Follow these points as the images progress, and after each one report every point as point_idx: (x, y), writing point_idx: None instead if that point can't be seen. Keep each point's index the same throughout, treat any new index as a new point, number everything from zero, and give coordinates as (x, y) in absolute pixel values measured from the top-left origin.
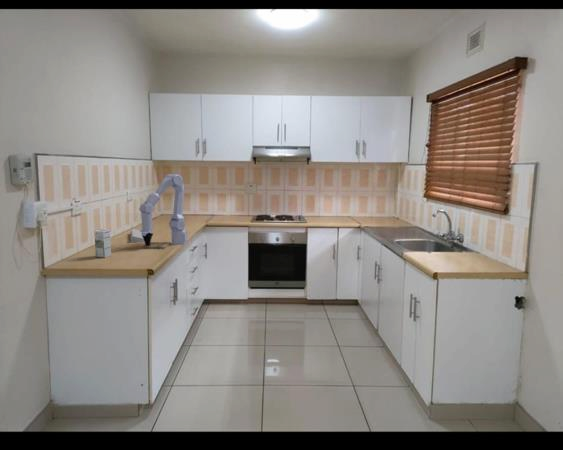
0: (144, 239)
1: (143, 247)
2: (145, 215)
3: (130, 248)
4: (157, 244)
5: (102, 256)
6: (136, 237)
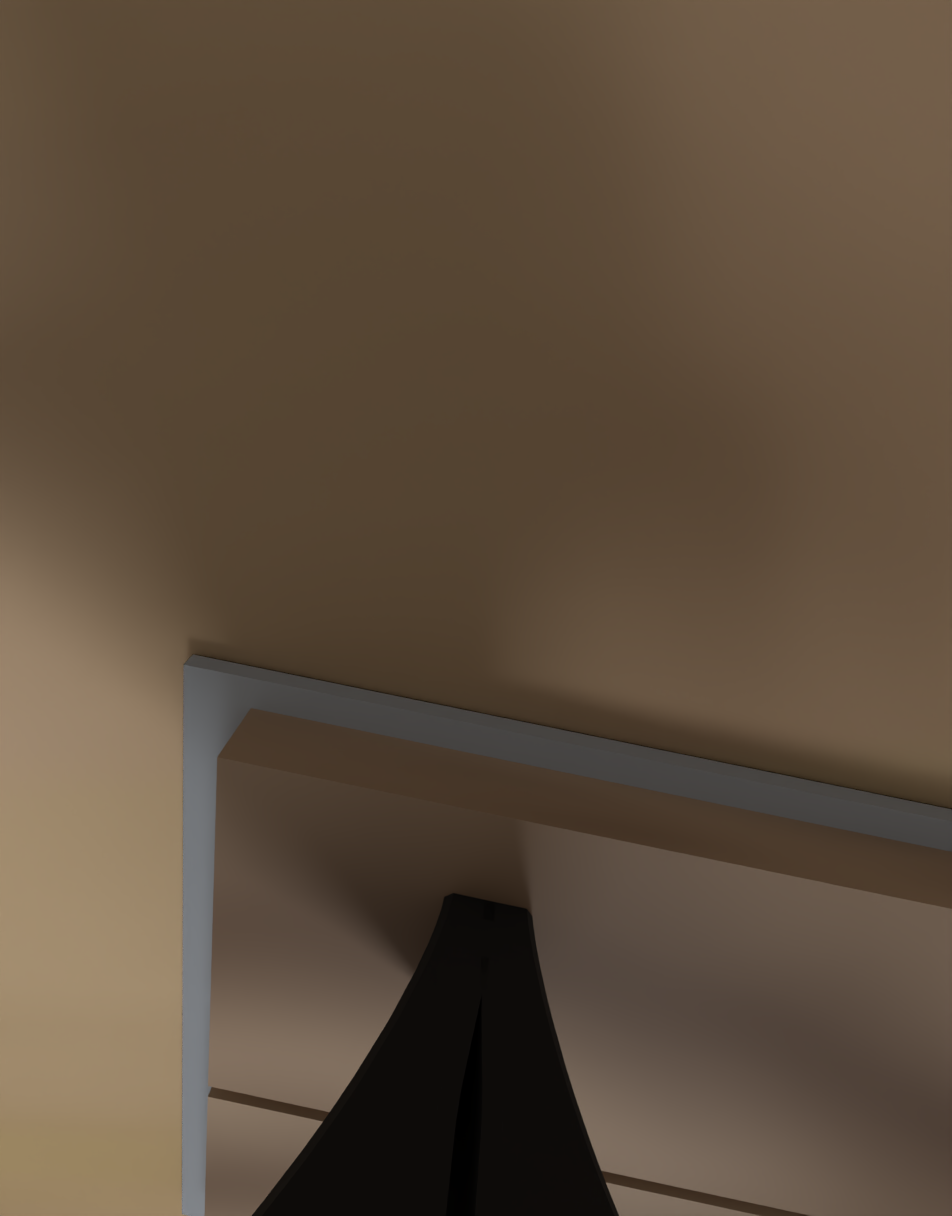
0: (290, 1177)
1: (229, 803)
2: None
3: (473, 169)
4: (622, 1187)
5: None
6: None
